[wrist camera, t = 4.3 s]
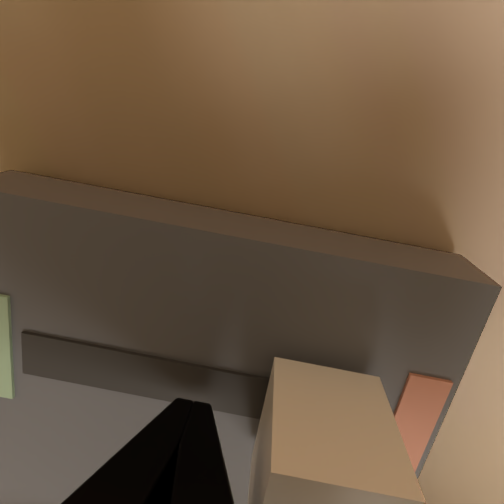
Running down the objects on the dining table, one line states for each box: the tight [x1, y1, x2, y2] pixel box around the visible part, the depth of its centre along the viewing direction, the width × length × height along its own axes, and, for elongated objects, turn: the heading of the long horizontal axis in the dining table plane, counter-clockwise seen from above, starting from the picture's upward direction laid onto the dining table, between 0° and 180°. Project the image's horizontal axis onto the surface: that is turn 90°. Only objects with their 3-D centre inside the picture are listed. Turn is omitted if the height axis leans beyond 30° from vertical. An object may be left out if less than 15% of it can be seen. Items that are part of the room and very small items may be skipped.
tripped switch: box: [248, 357, 426, 504], centre depth 8 cm, size 2×3×3 cm
